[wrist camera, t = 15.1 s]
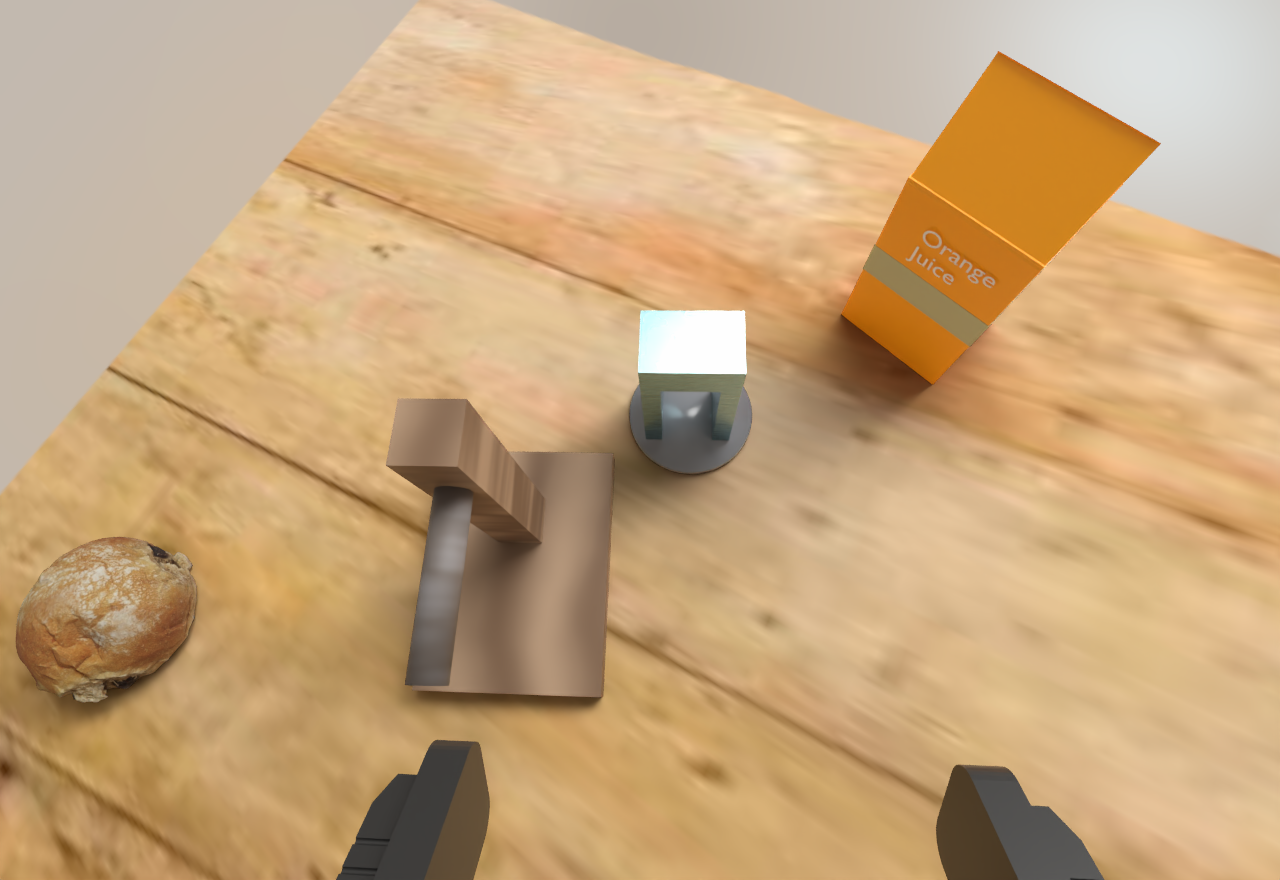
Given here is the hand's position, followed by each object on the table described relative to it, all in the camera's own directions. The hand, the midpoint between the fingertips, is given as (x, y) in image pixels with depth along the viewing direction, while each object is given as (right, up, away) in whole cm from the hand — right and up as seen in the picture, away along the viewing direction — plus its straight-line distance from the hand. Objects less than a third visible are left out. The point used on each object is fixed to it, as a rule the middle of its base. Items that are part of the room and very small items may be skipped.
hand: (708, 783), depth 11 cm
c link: (+2, +8, +35) cm, 36 cm away
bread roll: (-37, -7, +32) cm, 49 cm away
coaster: (+3, +8, +35) cm, 36 cm away
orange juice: (+20, +15, +37) cm, 45 cm away
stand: (-9, -3, +32) cm, 33 cm away
